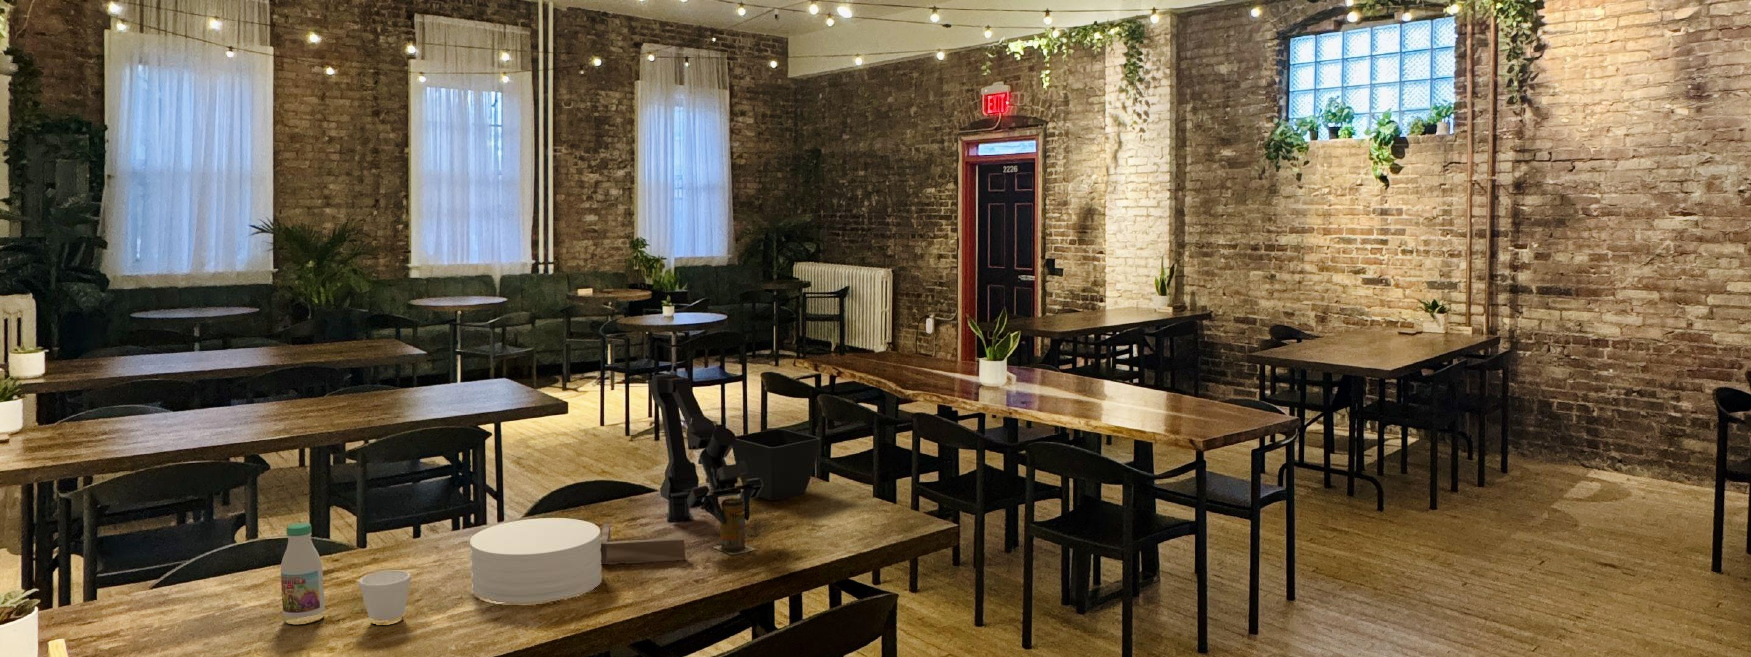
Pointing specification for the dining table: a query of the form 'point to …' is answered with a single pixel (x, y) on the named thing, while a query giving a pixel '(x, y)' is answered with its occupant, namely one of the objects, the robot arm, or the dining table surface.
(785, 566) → the dining table surface
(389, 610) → the cup
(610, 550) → the corner arena
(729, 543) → the condiment
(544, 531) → the plate stack
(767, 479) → the flower pot
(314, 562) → the milk bottle
